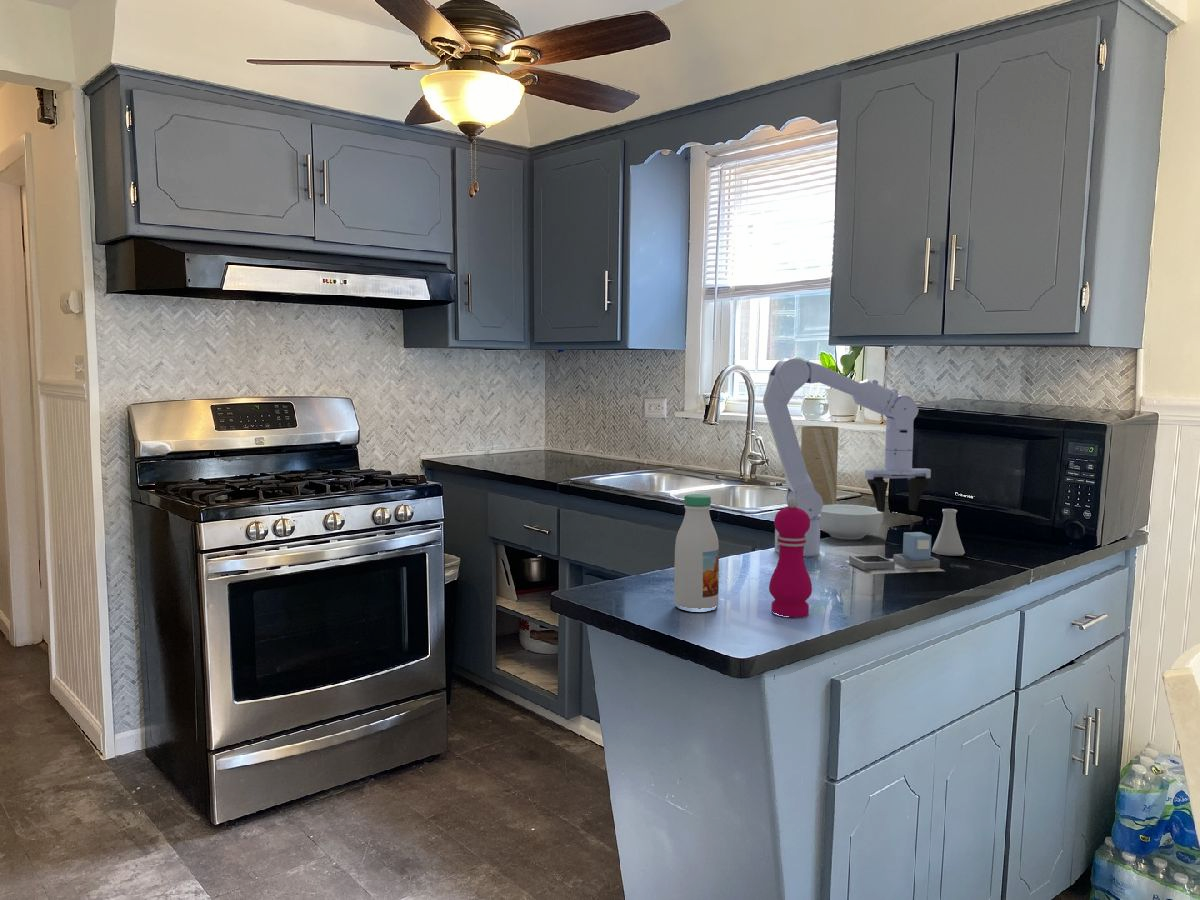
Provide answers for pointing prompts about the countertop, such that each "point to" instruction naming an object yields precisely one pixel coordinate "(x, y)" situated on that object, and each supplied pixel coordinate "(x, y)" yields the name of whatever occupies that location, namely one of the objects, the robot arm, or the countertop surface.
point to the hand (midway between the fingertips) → (896, 510)
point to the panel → (893, 564)
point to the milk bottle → (696, 556)
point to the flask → (948, 536)
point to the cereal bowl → (850, 521)
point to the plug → (916, 546)
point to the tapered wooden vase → (821, 459)
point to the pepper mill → (791, 563)
